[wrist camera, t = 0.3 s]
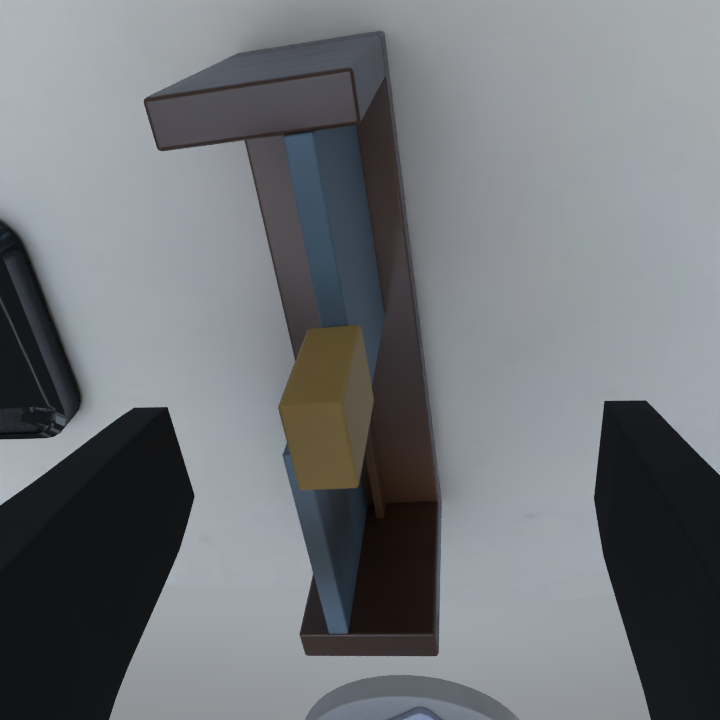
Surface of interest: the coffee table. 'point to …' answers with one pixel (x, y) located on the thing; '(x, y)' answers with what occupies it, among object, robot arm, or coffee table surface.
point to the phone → (29, 354)
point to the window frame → (397, 344)
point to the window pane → (333, 312)
